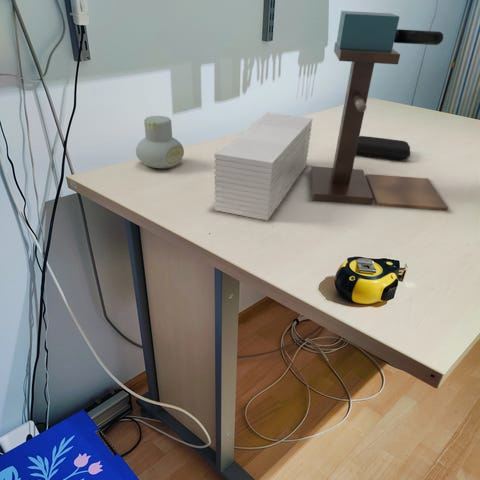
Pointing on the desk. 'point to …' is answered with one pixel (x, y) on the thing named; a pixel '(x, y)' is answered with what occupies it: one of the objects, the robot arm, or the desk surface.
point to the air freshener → (159, 144)
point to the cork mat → (404, 192)
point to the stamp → (379, 32)
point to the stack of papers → (261, 165)
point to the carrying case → (383, 148)
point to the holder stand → (350, 132)
